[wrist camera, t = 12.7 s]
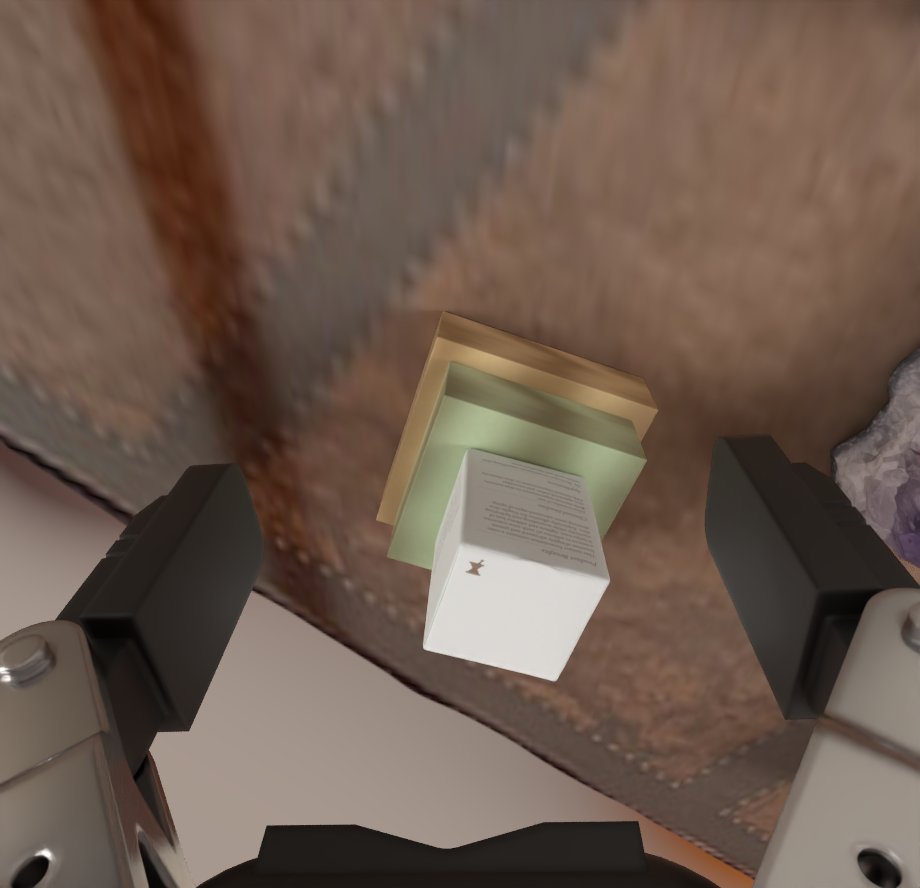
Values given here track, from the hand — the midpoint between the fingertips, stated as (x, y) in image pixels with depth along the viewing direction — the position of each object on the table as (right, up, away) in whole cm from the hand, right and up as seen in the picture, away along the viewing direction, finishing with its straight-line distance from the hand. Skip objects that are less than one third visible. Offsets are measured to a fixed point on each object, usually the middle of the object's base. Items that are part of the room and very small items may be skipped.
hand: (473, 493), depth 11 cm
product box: (+2, -2, +21) cm, 21 cm away
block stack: (+3, +2, +28) cm, 28 cm away
